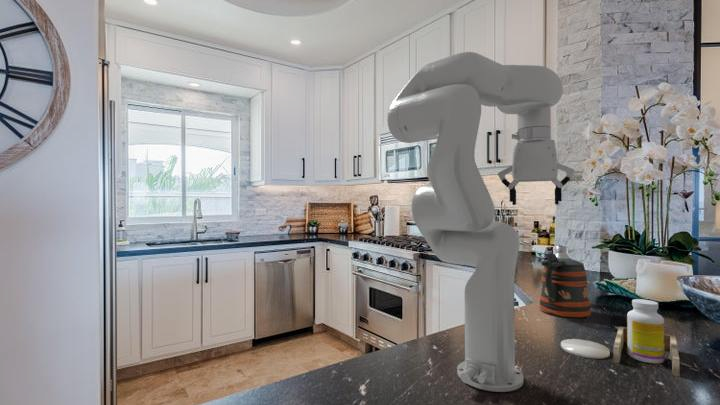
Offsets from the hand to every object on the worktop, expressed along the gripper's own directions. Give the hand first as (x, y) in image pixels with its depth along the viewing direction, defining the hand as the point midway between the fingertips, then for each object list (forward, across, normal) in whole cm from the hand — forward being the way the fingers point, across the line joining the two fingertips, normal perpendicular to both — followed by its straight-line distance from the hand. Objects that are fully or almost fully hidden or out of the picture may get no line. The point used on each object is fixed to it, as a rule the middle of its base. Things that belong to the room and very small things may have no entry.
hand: (535, 204), depth 92 cm
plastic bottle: (+36, +7, +48) cm, 60 cm away
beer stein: (+36, +7, +32) cm, 48 cm away
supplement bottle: (+35, +22, +1) cm, 42 cm away
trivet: (+35, +10, 0) cm, 36 cm away
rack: (+35, +22, +2) cm, 42 cm away
